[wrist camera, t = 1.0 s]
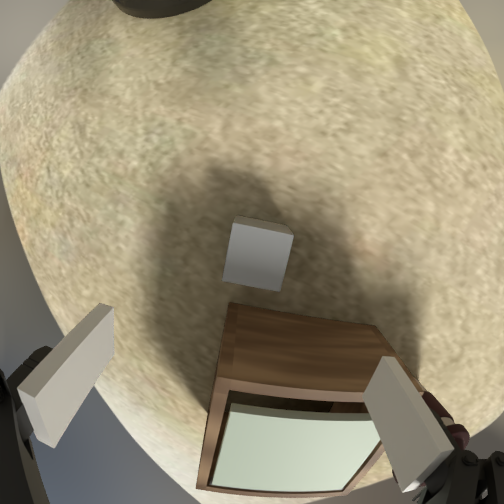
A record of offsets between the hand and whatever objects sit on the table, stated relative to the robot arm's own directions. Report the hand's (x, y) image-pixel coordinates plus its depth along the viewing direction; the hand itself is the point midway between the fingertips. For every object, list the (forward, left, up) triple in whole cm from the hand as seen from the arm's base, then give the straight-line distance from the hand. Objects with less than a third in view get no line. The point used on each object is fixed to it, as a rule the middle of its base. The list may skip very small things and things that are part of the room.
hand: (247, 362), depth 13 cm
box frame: (+13, +7, -17) cm, 23 cm away
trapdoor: (+14, +7, -6) cm, 17 cm away
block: (-2, 0, -17) cm, 17 cm away
